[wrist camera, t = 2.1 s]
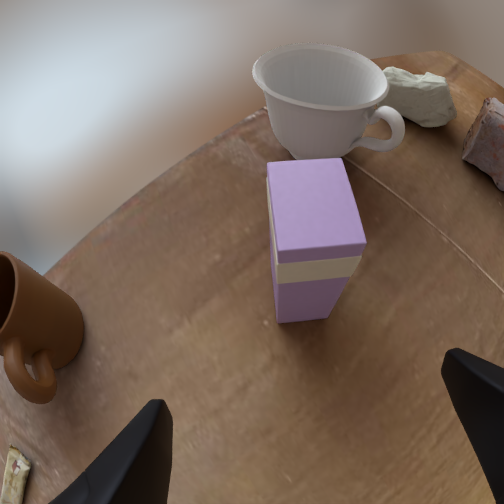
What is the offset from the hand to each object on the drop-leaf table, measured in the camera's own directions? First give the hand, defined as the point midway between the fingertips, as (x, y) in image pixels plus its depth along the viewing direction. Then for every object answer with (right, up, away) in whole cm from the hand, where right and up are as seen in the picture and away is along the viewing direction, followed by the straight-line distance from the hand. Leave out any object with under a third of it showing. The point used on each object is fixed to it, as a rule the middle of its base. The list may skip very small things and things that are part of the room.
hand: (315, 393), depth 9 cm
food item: (+30, +13, +21) cm, 39 cm away
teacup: (+6, +14, +23) cm, 28 cm away
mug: (-19, -5, +15) cm, 25 cm away
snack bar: (-23, -19, +8) cm, 31 cm away
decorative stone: (+20, +24, +27) cm, 41 cm away
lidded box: (+2, +1, +17) cm, 17 cm away
